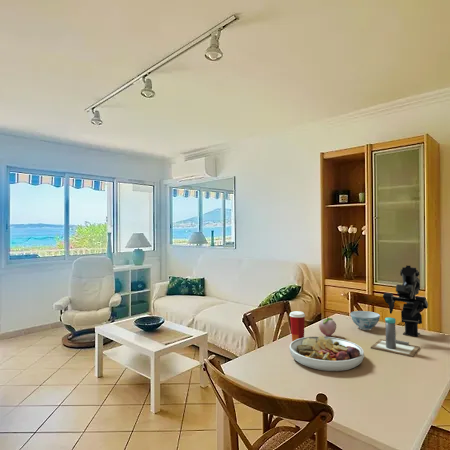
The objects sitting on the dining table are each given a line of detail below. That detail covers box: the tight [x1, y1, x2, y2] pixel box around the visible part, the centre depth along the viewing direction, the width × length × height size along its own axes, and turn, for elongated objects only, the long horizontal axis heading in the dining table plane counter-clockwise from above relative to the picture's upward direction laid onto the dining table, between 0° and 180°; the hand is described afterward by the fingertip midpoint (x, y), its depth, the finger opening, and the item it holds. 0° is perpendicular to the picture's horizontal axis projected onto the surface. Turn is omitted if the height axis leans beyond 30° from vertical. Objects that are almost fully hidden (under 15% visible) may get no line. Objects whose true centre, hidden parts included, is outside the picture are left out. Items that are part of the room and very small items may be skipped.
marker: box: [384, 317, 397, 349], centre depth 149 cm, size 4×4×13 cm
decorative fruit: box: [318, 316, 337, 337], centre depth 168 cm, size 9×8×10 cm
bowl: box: [289, 335, 365, 372], centre depth 139 cm, size 30×30×8 cm
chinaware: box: [349, 310, 381, 331], centre depth 181 cm, size 15×15×8 cm
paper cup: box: [289, 310, 306, 342], centre depth 162 cm, size 8×8×14 cm
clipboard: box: [370, 338, 421, 358], centre depth 150 cm, size 14×17×2 cm
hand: (400, 315), depth 155 cm, fingers open, 9 cm apart
